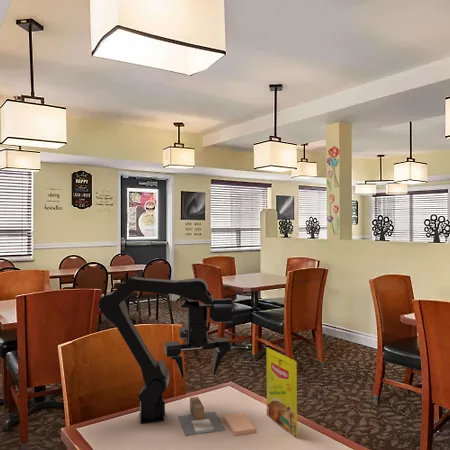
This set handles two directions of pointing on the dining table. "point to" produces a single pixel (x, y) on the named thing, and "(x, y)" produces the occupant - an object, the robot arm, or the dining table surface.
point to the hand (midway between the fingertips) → (198, 376)
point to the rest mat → (212, 416)
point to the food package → (282, 390)
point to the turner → (199, 416)
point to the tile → (239, 424)
